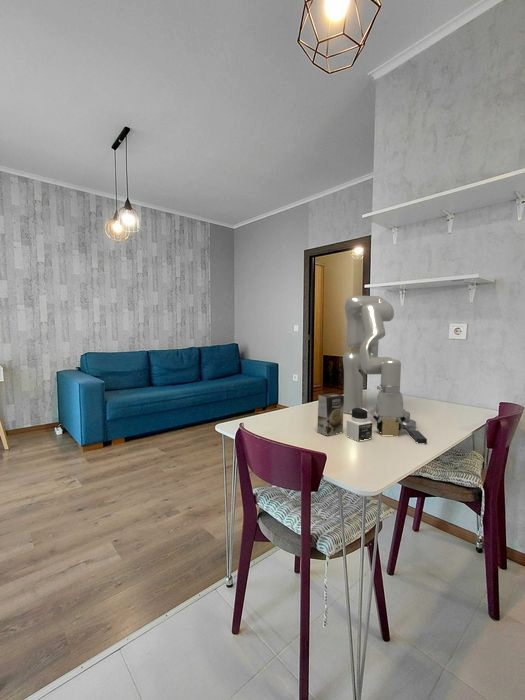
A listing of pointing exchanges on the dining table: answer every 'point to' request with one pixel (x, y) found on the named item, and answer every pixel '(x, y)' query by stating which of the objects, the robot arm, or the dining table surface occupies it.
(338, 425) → the coffee box
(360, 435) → the medicine bottle
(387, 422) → the brass-coloured cube
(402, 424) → the ratchet
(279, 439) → the dining table surface
